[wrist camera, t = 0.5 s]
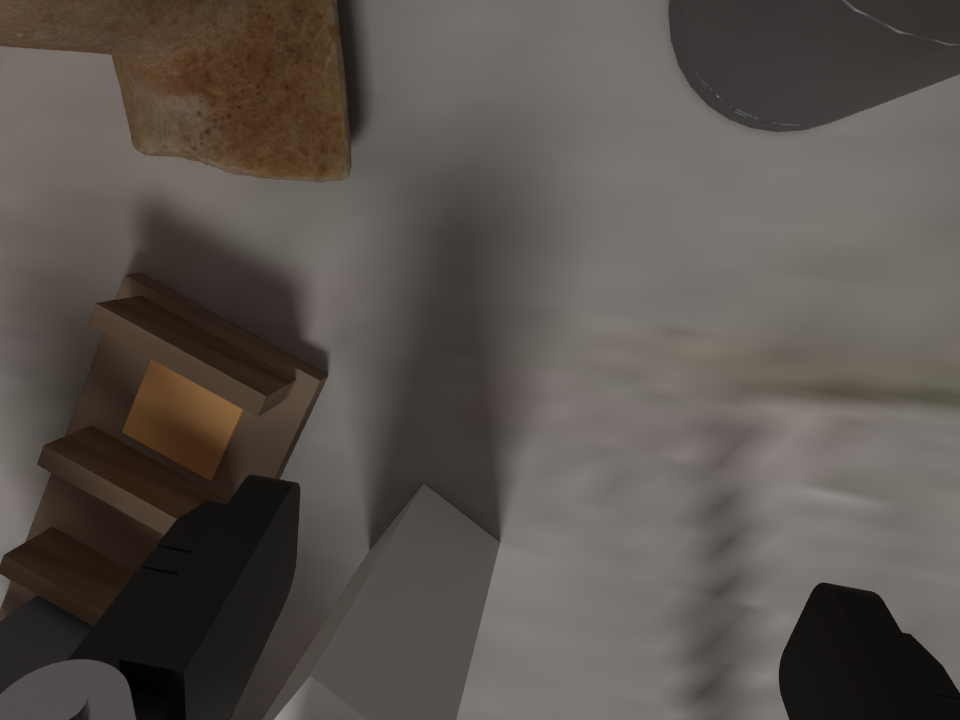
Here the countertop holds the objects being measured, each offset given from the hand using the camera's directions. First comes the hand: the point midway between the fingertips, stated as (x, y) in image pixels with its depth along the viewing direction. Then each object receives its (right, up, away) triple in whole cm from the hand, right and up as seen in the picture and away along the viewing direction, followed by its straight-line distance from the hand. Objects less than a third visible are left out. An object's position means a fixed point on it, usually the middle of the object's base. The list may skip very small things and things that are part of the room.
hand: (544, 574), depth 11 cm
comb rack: (-17, -4, +24) cm, 30 cm away
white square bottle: (-3, -5, +22) cm, 23 cm away
